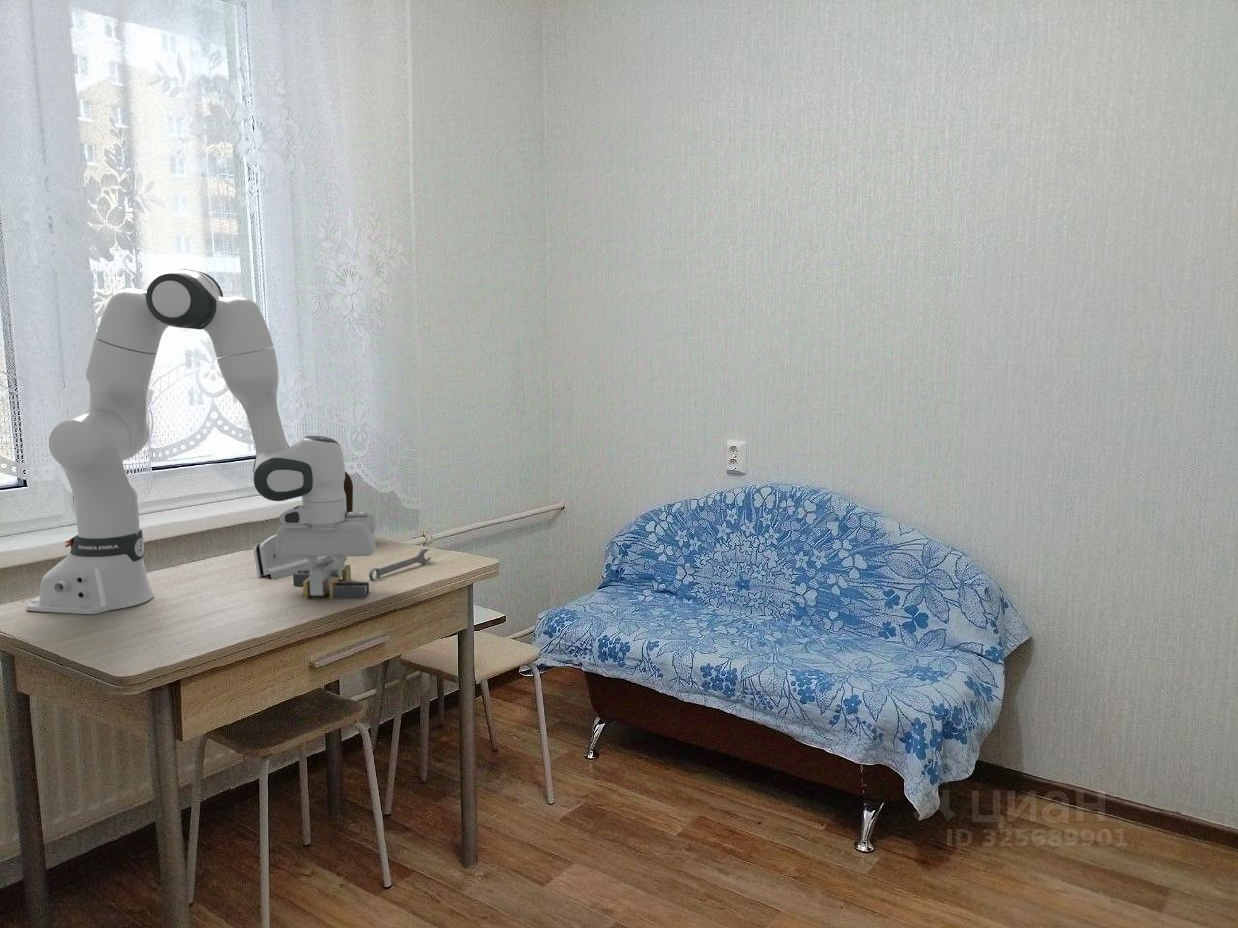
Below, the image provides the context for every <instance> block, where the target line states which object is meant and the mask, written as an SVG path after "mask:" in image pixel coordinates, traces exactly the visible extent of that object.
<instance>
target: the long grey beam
mask: <svg viewBox="0 0 1238 928" xmlns="http://www.w3.org/2000/svg"><path fill="white" fill-rule="evenodd" d="M339 563H340V561H337V556H326V558H325V559H324V560H322V561H321V562H320V563H319V564H318V565H317V566H315V567H314V568H313V569H310V570H311V571H309V577H310V595H311V596H324V595H325V594H326V593H327V592H329V581H330V580H331V579H332V578H333V568H334V567H338V565H339ZM345 563H346V562H345ZM345 563H344V564H343V566H342V569H343V568H344V567H345V566H346V565H345ZM341 578H342V575H341V576H340V577H338V581H339V580H340V579H341Z"/></svg>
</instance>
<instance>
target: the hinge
mask: <svg viewBox="0 0 1238 928" xmlns="http://www.w3.org/2000/svg"><path fill="white" fill-rule="evenodd" d="M276 542H277V533H276V534H274V535H271V536H269V537H266V538H265V539H263V540H262V541H261V542H259V543H258V544H256V545H255V546H254V547H253V551H252V552H253V556H254V561H255V568H256V574H257V577H258V578H262V577H265V576H270V577H271V580H273V581H274V580H277V579H281V578H285V577H288V576H291V575H292V576H293V574H298V570H312V569H313V568H312V567H311V565H310V564H309V562H308V557H281V556H280V555H279V554H278V553H277V548H276ZM326 557H327V556H323V557H317V559H316V560H315V561H316V562H317V564H319V563H320V562H321V561H322V560H324V559H325V558H326Z"/></svg>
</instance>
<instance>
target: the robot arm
mask: <svg viewBox="0 0 1238 928" xmlns="http://www.w3.org/2000/svg"><path fill="white" fill-rule="evenodd" d="M169 327H173V328H180V329H189V330H190V329H191V330H192V329H193V330H203V331H205V332H206V333H207V334H208V336H209V338H210V340H211V343H212V346H213V349H214V354H215V358H216V361H217V364H218V368H219V371H220V372H221V375H222V378H223V380H224V382H225V384H226V386H227V388H228V390H229V392H230V393H231V394H232V395H233V396H234V397H235V399H237V401H238V402H239V403H240V405H241V406H242V408H243V410H244V412H245V415H246V418H247V420H248V423H249V425H248V426H249V428H250V431H251V435H252V438H253V439H252V440H253V441H254V447H255V459H254V463H253V467H252V468H253V470H252V472H253V485H254V488H255V489H256V491H257V492H258V494H259V495H260V496H262V497H263V498H264V499H266V500H268V501H273V502H284V501H287V500H292V499H295V498H299V497H301V498H302V499H301V501H302V504H301V505H297V506H295V507H291V508H289V509H287V510H285V511H283V512H282V513H281V514H280V515H279V522H280V523H281V525H279V527H278V528H277V533H276V534H277V542H276V548H277V553H278V554H279V555H280V556H281V557H308V562H309V564H310V565H311V567H312V568H314V567H315V566H317V565H318V564H317V562H316V561H315V560H316V559H317V557H323V556H326V557H327V556H337V561H340V563H339V565H338V567H334V568H333V577H340V576H341V575H342V566H343V564H344V563H346V560H347V557H370V556H371V555H373V554H374V552H375V551H376V549H377V545H376V544H377V543H376V536H375V530H376V521H375V517H374V516H373V515H371V514H369V513H368V512H366V511H361V512H355V511H353V512H347V507H346V494H345V491H344V480H345V472H346V469H345V460H344V459H345V458H344V453H343V449H342V446H341V444H340V443H339V442H338V441H337V440H335V439H333V438H331V437H327V436H320V435H306V436H303V438H302V439H300V440H299V441H298V442H296V443H295V444H292V445H291V446H289V443H288V441H287V440H286V437H285V432H284V429H283V425H282V420H281V418H280V414H279V411H278V403H277V395H278V387H279V368H278V361H277V354H276V350H275V347H274V342H273V340H272V336H271V333H270V330H269V327H268V324H267V322H266V320H265V318H264V316H263V313H262V311H261V310H260V307H259V306H258V305H257V303H256V302H255V301H254V300H252V299H251V298H247V297H243V296H230V297H224V294H223V290H222V288H221V286H220V285H219V283H218V282H217V281H216V279H214V278H213V277H212V276H210V275H209V274H207V273H206V272H202V271H198V270H194V269H193V270H192V269H189V268H188V269H186V268H185V269H184V268H183V269H182V268H181V269H176V270H175V269H174V270H173V269H172V270H168V271H163V272H162V273H159V274H158V275H157V276H155V277H154V278H153V279H152V280H151V281H150V282H149V285H148V286H147V288H146V291H145V290H142V289H138V288H124V289H123V288H122V289H119V290H118V291H115V292H114V293H113V294H112V296H111V297H110V299H109V300H108V303H107V305H106V307H105V309H104V311H103V314H102V316H101V318H100V322H99V324H98V327H97V331H96V332H95V337H94V341H93V345H92V349H91V353H90V357H89V361H88V364H87V368H86V373H85V376H86V378H85V379H87V382H88V385H89V395H90V396H89V397H90V399H89V408H88V410H87V412H86V411H85V412H81V413H76V414H73V415H71V416H69V417H67V418H66V419H64V420H62V421H61V422H60V423H58V424H57V425H56V426H55V427H53V429H52V431H51V432H50V435H49V437H48V449H49V451H50V455H52V458H53V459H54V460H55V461H56V462H57V463H58V464H60V466H61V467H62V468H63V470H64V473H65V475H66V478H67V480H68V482H69V483H68V484H69V485H70V489H71V491H72V495H73V500H74V506H75V507H74V508H75V516H76V525H77V526H76V527H77V535H75V536H73V537H72V538H70V539H69V540H66V541H64V543H65V544H66V545H65V546H64V547H65V548H68V547H70V552H69V554H68V555H67V556H66V557H65V558H63V559H62V560H61V561H59V562H58V563H57V564H56V565H54V567H51V569H49V570H48V571H47V572H45V574H44V575H43V577H42V579H41V582H40V585H39V587H40V588H39V595H38V596H37V597H35V598H33V599H32V600H30V601H29V602H28V603H27V611H31V612H42V613H43V612H45V613H60V614H61V613H62V614H78V615H79V614H81V615H97V614H100V613H104V612H108V611H112V610H113V611H114V610H117V609H124V608H125V609H126V608H129V607H133V606H137V605H141V604H143V603H145V602H148V601H150V600H152V599H153V598H154V592H153V590H152V588H151V586H150V585H151V584H150V582H149V579H148V575H147V571H146V567H145V562H144V556H145V545H144V535H143V529H141V528H140V527H141V525H140V514H139V512H140V511H139V501H138V493H137V491H136V489H135V488H134V487H133V486H132V485H131V483H130V481H129V479H128V475H127V473H126V470H125V466H124V461H125V460H129V459H131V458H133V457H134V456H136V455H137V454H138V453H139V452H140V451H142V449H143V448H145V446H146V445H147V443H148V441H149V437H150V429H149V425H148V422H147V398H148V390H149V389H148V388H149V384H150V381H151V377H152V374H153V369H154V365H155V361H156V358H157V354H158V350H159V346H160V343H161V340H162V336H163V334H164V332H165V331H166V329H167V328H169Z"/></svg>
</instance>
